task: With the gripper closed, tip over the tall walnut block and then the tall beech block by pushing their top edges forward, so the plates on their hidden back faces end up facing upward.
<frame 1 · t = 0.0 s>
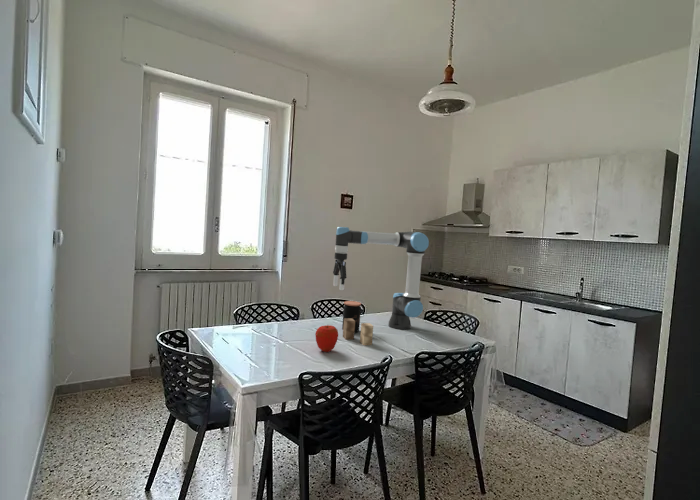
hand: (338, 287, 237), 28 cm above the table, tool pointing down, fingers open, 13 cm apart
walnut block: (348, 338, 231), on the table
coffee jar: (350, 331, 246), on the table
apple: (325, 351, 205), on the table
beech block: (365, 343, 223), on the table
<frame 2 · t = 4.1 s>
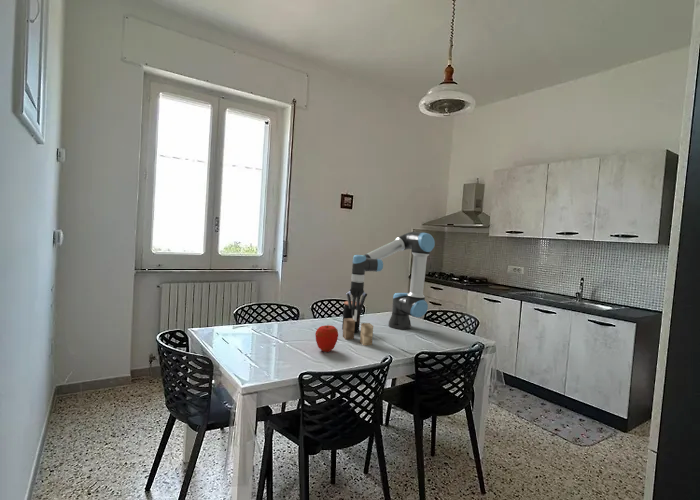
hand: (354, 321, 232), 10 cm above the table, tool pointing down, fingers closed
walnut block: (348, 337, 231), on the table, touching gripper
everything else where it was.
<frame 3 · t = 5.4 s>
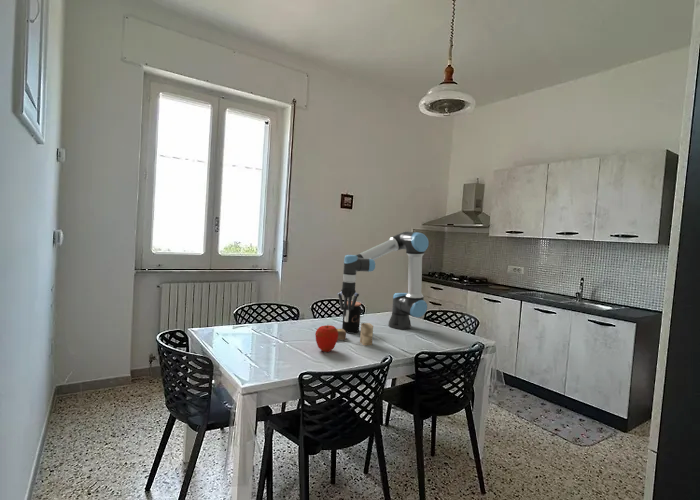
hand: (346, 321, 230), 10 cm above the table, tool pointing down, fingers closed
walnut block: (344, 334, 230), point 2 cm above the table, tilted 90°
everything else where it was.
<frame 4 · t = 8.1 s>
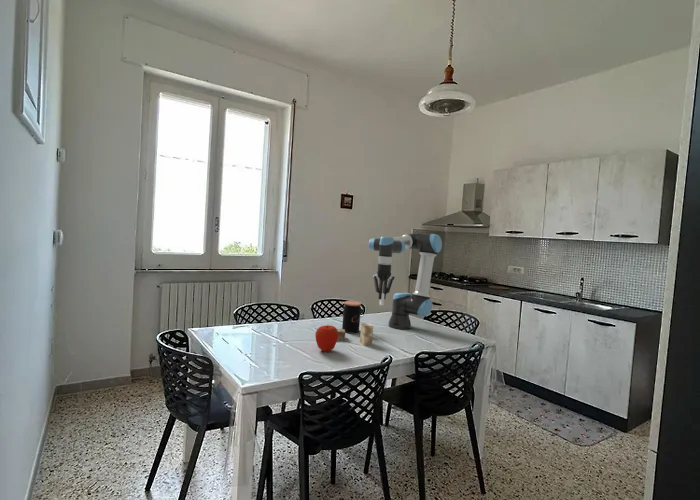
hand: (381, 304, 224), 22 cm above the table, tool pointing down, fingers closed
walnut block: (344, 334, 229), point 2 cm above the table, tilted 90°
everything else where it was.
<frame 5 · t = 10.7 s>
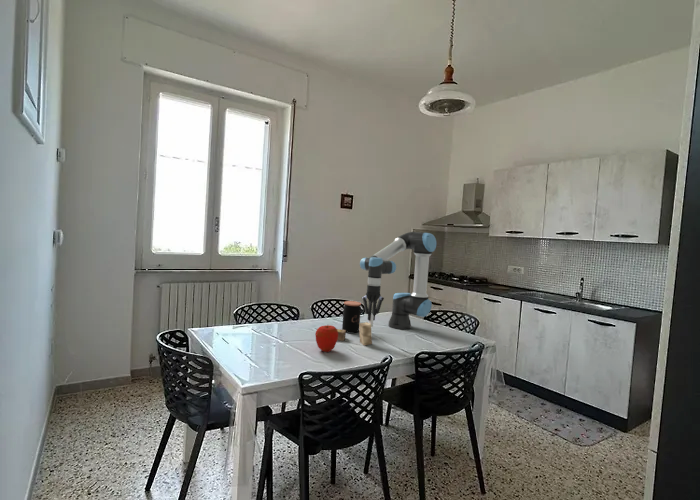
hand: (370, 326, 223), 10 cm above the table, tool pointing down, fingers closed
walnut block: (344, 335, 228), point 2 cm above the table, tilted 90°
beech block: (365, 343, 223), on the table, tilted 7°, touching gripper
everything else where it was.
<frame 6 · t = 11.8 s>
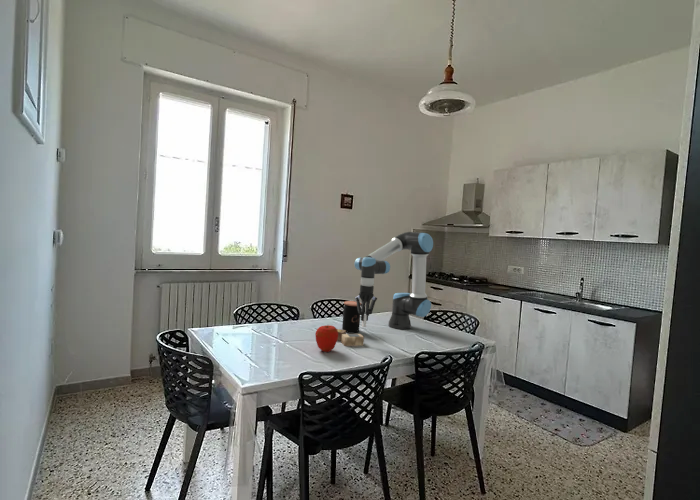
hand: (363, 326, 222), 10 cm above the table, tool pointing down, fingers closed
beech block: (361, 339, 222), point 2 cm above the table, tilted 90°
everything else where it was.
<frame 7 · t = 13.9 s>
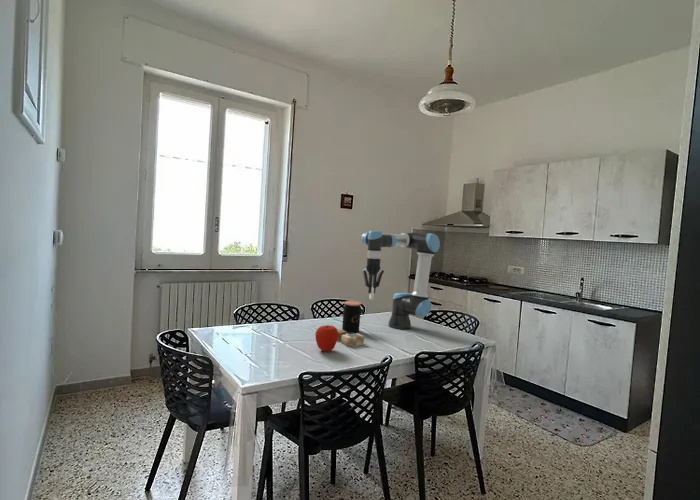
hand: (371, 298, 225), 25 cm above the table, tool pointing down, fingers closed
walnut block: (343, 336, 226), point 2 cm above the table, tilted 90°
beech block: (360, 339, 223), point 2 cm above the table, tilted 90°
everything else where it was.
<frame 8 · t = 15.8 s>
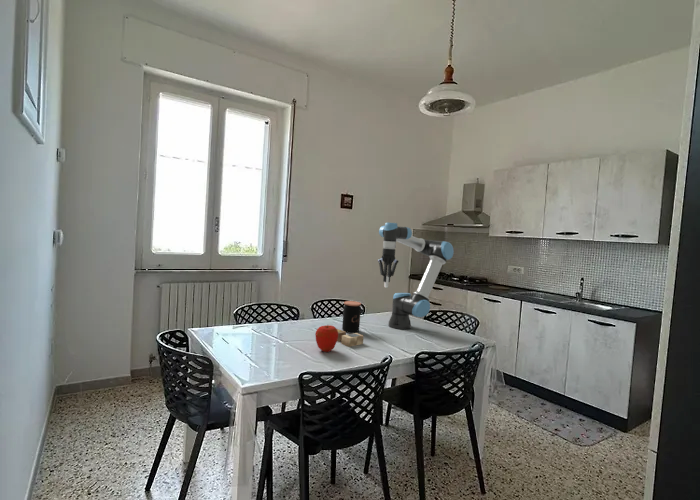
hand: (386, 287, 237), 30 cm above the table, tool pointing down, fingers closed
walnut block: (342, 336, 225), point 2 cm above the table, tilted 90°
beech block: (359, 338, 224), point 2 cm above the table, tilted 90°
everything else where it was.
at the end: walnut block tilted 90°; beech block tilted 90°; walnut block inside the target area (5.5 cm from its centre), point 2.2 cm above the table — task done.
